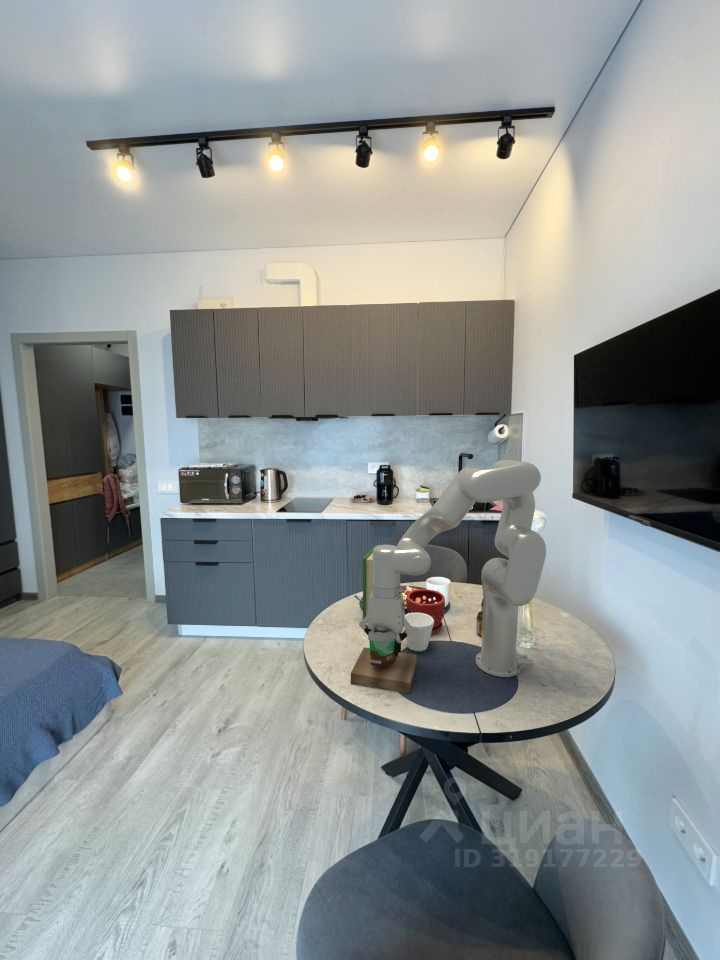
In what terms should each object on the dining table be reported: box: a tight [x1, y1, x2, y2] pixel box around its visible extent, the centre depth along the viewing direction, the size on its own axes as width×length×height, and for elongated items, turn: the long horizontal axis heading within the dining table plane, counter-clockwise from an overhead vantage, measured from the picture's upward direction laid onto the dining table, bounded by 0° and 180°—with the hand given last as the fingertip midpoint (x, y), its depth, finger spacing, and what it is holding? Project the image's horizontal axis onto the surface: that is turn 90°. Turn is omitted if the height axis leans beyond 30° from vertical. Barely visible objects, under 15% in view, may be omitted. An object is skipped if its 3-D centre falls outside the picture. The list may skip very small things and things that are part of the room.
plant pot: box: [406, 588, 446, 635], centre depth 140 cm, size 13×13×12 cm
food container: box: [367, 630, 400, 666], centre depth 113 cm, size 12×6×10 cm, turn 148°
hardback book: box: [362, 544, 380, 620], centre depth 151 cm, size 18×7×24 cm, turn 163°
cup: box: [403, 613, 434, 653], centre depth 128 cm, size 10×10×9 cm
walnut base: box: [350, 647, 418, 695], centre depth 114 cm, size 16×14×3 cm
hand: (385, 651), depth 114 cm, fingers closed on food container, 5 cm apart
